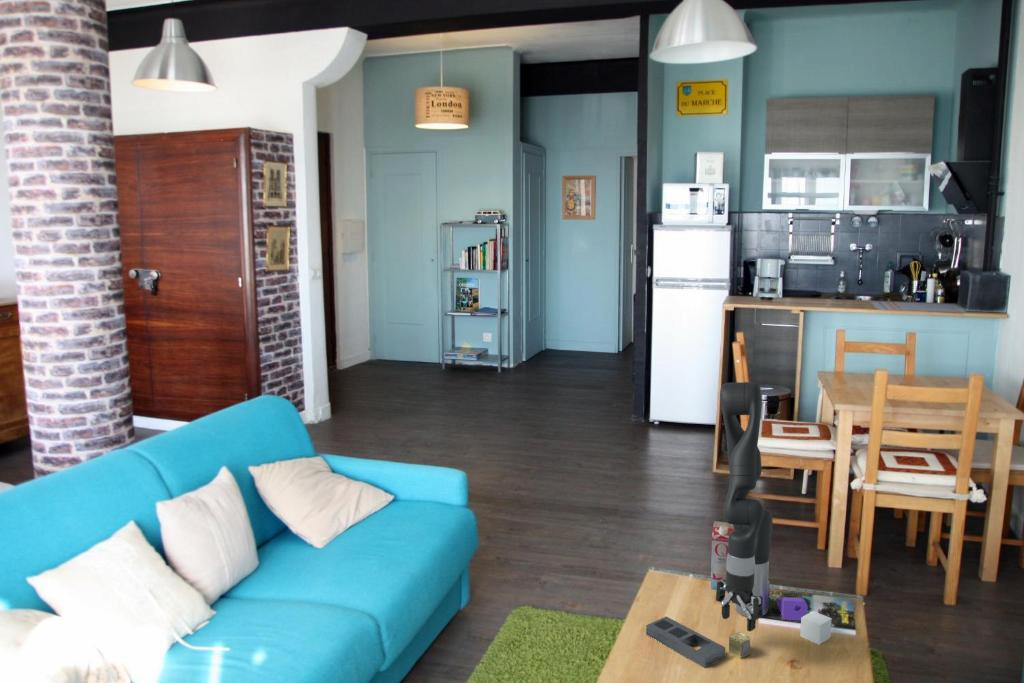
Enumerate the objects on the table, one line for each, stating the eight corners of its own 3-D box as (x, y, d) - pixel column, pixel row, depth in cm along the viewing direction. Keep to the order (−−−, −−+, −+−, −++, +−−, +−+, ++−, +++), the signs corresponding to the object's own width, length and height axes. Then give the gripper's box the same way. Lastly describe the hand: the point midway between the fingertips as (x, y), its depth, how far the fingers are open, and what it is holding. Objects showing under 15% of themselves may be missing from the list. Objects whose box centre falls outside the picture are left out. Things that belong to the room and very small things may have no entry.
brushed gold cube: (736, 647, 239) (737, 631, 238) (750, 654, 235) (751, 638, 235) (727, 652, 237) (728, 635, 236) (741, 659, 233) (742, 642, 232)
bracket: (806, 623, 252) (807, 601, 251) (782, 621, 253) (783, 600, 252) (798, 603, 264) (799, 583, 263) (776, 602, 265) (776, 582, 264)
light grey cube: (800, 636, 244) (801, 617, 243) (811, 629, 248) (812, 610, 247) (819, 645, 240) (820, 625, 239) (830, 637, 243) (831, 618, 242)
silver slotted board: (666, 625, 252) (666, 615, 251) (725, 657, 234) (725, 647, 234) (646, 634, 247) (646, 625, 246) (704, 668, 229) (705, 657, 229)
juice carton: (731, 592, 271) (733, 527, 267) (710, 589, 274) (712, 524, 270) (734, 583, 277) (736, 519, 273) (713, 580, 280) (715, 517, 276)
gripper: (770, 574, 228) (767, 630, 231) (729, 556, 240) (726, 610, 242) (752, 581, 224) (749, 638, 227) (711, 563, 235) (709, 617, 238)
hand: (738, 624), depth 234 cm, fingers open, 8 cm apart
